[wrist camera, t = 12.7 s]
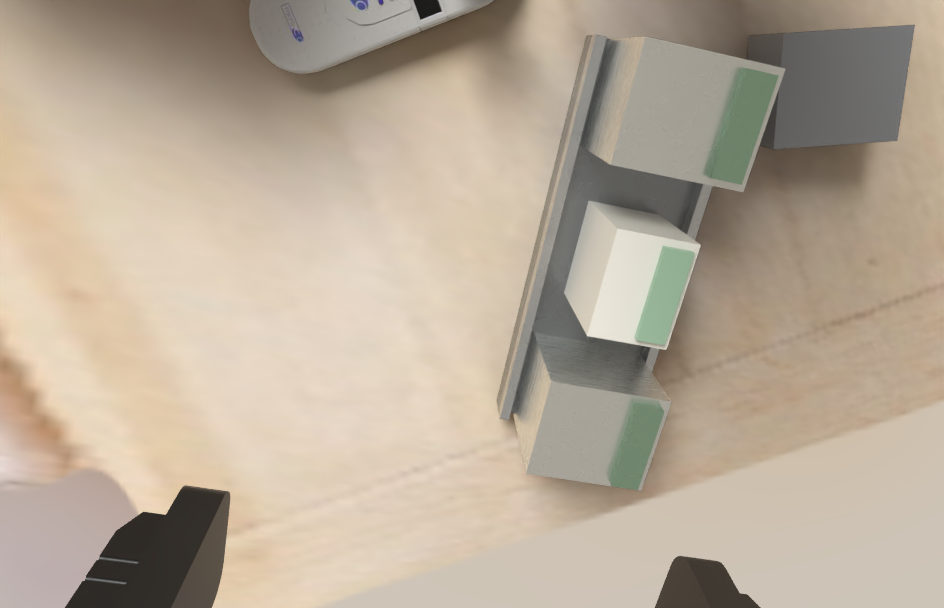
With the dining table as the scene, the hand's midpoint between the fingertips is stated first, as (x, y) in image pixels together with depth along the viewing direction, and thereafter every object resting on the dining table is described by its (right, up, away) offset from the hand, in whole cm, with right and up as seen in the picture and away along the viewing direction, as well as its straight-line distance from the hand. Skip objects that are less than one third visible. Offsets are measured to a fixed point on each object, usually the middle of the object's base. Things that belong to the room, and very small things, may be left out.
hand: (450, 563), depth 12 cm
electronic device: (-4, +22, +26) cm, 35 cm away
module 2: (+20, +18, +29) cm, 40 cm away
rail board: (+9, +8, +32) cm, 34 cm away
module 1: (+9, +8, +30) cm, 33 cm away
